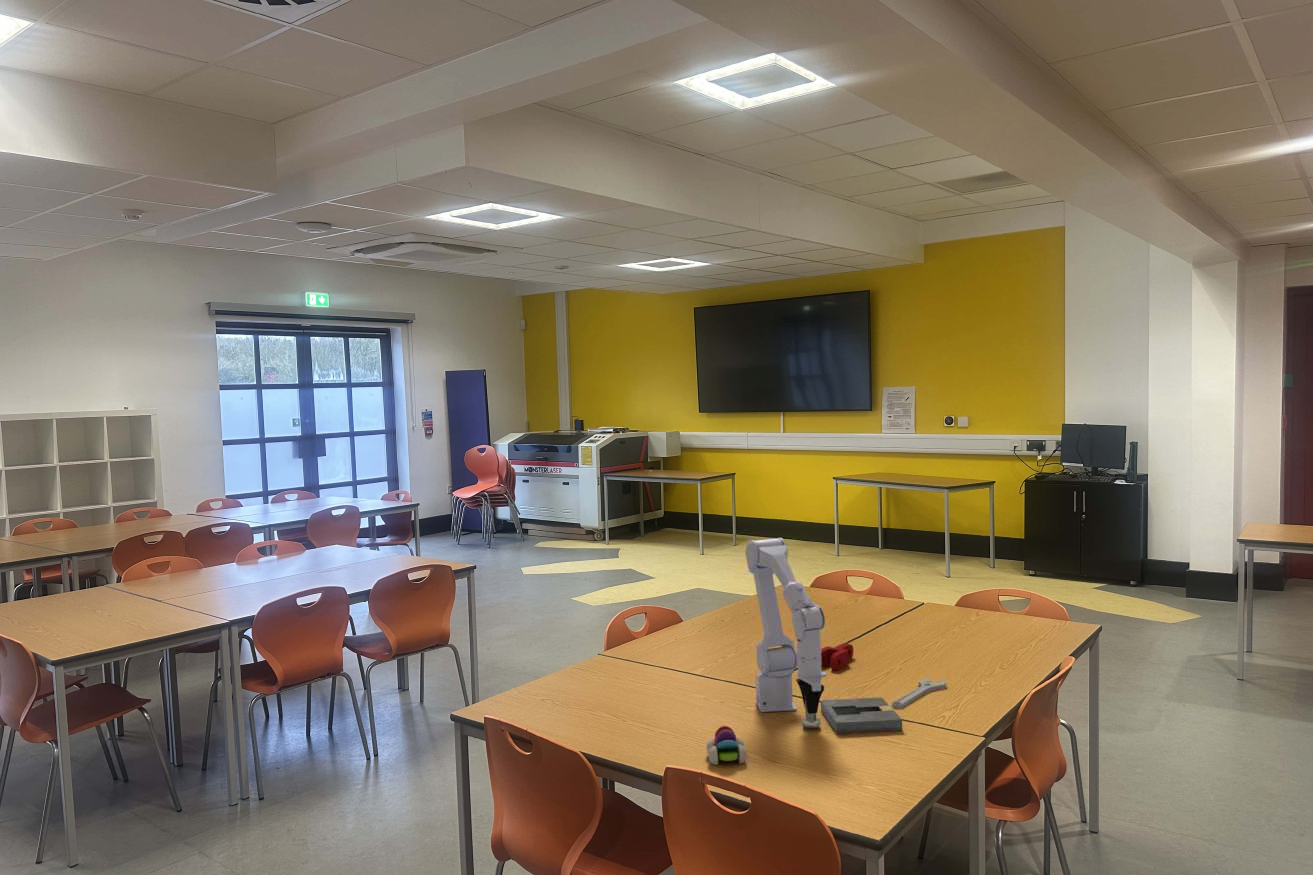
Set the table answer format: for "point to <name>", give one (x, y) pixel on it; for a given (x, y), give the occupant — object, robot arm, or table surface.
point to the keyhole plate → (860, 715)
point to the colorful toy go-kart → (726, 746)
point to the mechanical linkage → (836, 656)
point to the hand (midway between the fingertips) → (810, 710)
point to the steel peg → (810, 720)
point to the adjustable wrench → (918, 692)
